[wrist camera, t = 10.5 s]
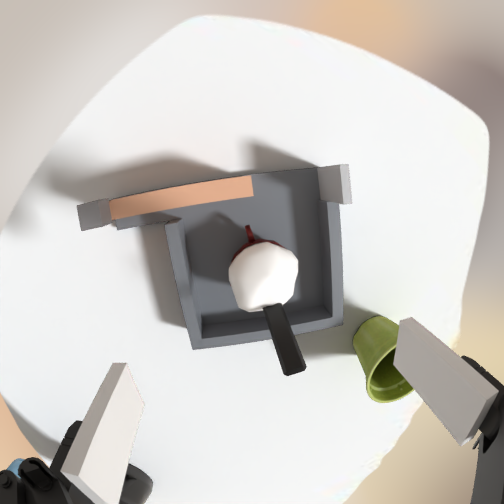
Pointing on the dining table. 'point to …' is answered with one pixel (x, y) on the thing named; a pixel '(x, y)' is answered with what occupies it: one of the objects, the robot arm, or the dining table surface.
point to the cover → (162, 200)
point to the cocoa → (268, 292)
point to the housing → (263, 227)
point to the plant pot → (380, 360)
